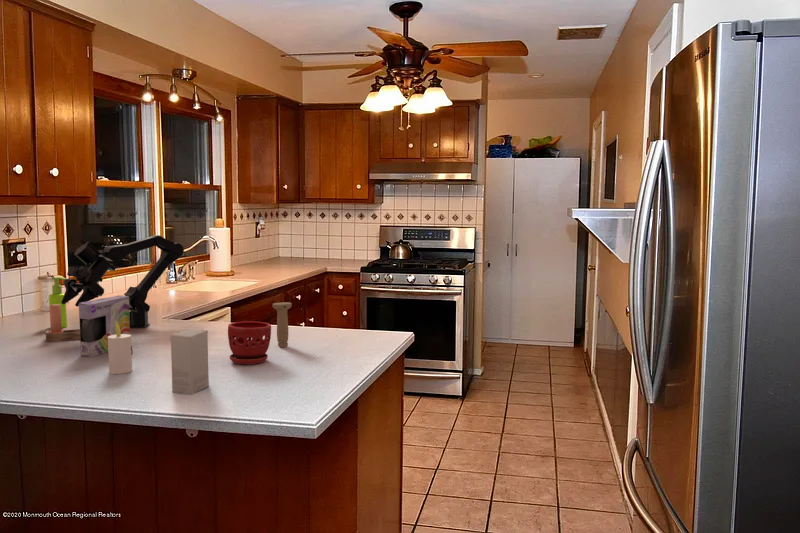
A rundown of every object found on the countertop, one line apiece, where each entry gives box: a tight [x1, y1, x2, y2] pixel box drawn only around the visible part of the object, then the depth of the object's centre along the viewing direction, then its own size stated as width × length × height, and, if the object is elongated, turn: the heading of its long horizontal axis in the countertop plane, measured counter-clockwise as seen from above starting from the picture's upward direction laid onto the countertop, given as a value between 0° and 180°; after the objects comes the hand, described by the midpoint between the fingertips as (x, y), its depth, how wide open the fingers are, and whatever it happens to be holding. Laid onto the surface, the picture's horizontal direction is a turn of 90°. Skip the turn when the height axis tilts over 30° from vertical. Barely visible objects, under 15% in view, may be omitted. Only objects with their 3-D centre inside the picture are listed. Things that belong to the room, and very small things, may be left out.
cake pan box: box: [78, 294, 131, 358], centre depth 225 cm, size 19×5×18 cm, turn 160°
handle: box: [272, 301, 292, 348], centre depth 232 cm, size 5×6×15 cm
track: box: [45, 328, 80, 343], centre depth 247 cm, size 16×7×4 cm, turn 116°
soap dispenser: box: [48, 276, 68, 329], centre depth 268 cm, size 6×7×20 cm
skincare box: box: [170, 328, 210, 395], centre depth 178 cm, size 8×7×16 cm
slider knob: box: [49, 304, 64, 334], centre depth 245 cm, size 4×5×11 cm
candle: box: [107, 321, 133, 375], centre depth 198 cm, size 6×6×15 cm
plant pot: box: [227, 321, 272, 366], centre depth 210 cm, size 13×13×12 cm
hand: (69, 304), depth 248 cm, fingers open, 9 cm apart
